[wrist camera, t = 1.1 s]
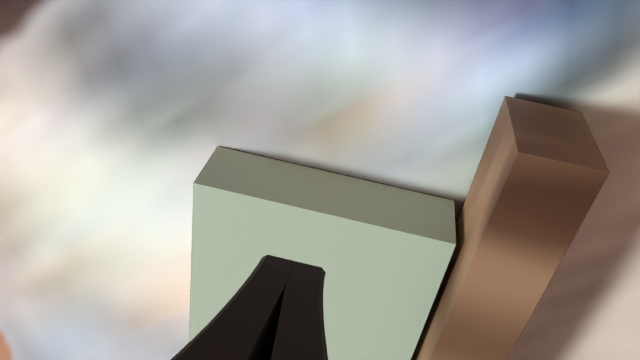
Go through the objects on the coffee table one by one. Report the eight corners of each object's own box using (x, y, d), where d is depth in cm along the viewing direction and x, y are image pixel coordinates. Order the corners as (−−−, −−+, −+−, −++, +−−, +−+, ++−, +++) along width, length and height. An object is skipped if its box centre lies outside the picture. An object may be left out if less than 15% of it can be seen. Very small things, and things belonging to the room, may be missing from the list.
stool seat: (392, 368, 26) (388, 416, 24) (207, 322, 27) (188, 365, 25) (454, 200, 20) (456, 244, 18) (217, 146, 21) (193, 182, 19)
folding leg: (440, 406, 27) (440, 485, 23) (391, 393, 27) (384, 470, 24) (581, 111, 17) (612, 177, 14) (505, 95, 18) (519, 156, 14)
